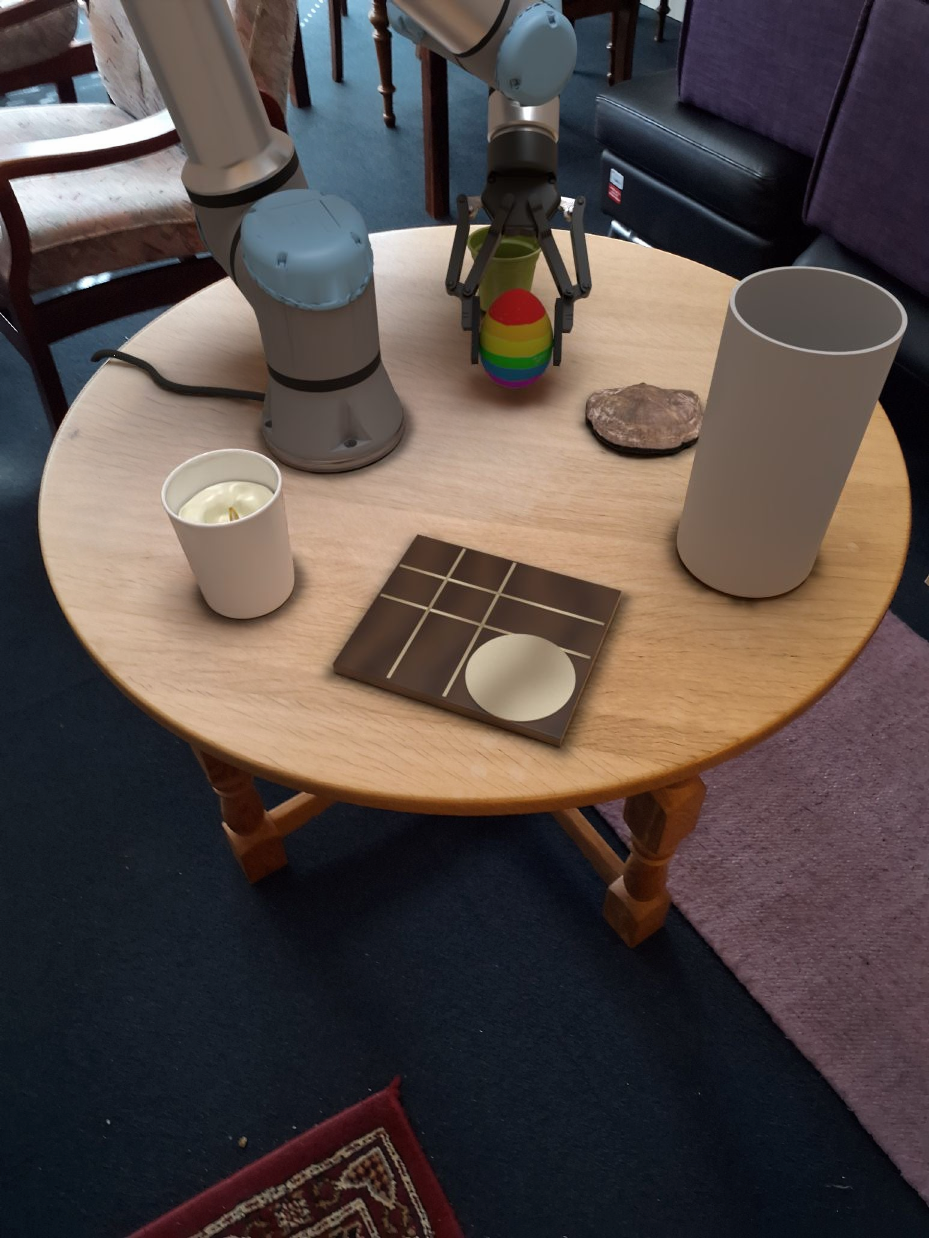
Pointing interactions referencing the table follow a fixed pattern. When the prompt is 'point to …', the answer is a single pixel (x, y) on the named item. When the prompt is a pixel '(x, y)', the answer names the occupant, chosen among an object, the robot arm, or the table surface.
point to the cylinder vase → (784, 424)
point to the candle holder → (233, 530)
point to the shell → (645, 418)
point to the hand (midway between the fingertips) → (515, 362)
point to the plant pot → (505, 265)
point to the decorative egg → (516, 339)
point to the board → (482, 637)
